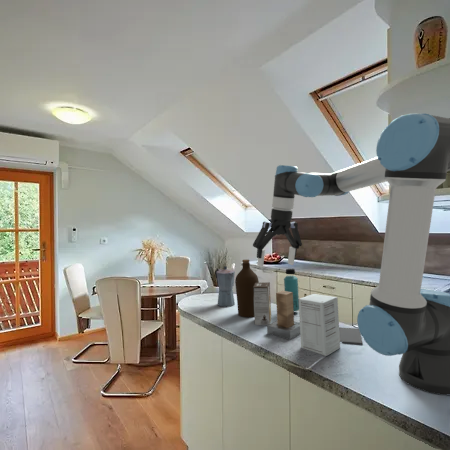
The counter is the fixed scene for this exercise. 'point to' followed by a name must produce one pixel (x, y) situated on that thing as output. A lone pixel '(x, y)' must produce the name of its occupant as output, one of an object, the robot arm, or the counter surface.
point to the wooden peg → (285, 309)
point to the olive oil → (245, 290)
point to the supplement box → (319, 324)
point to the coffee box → (262, 303)
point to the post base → (284, 330)
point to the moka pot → (225, 286)
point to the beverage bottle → (292, 287)
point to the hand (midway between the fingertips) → (275, 265)
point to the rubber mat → (350, 336)
